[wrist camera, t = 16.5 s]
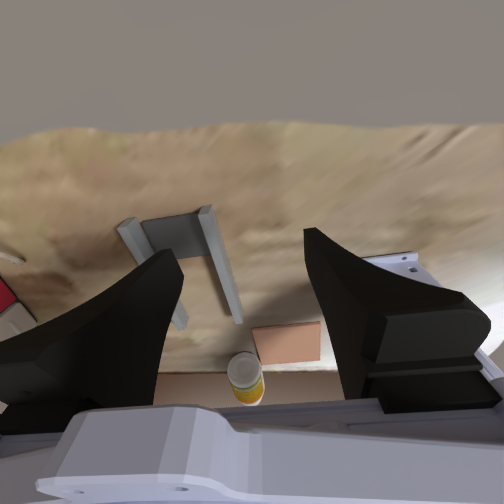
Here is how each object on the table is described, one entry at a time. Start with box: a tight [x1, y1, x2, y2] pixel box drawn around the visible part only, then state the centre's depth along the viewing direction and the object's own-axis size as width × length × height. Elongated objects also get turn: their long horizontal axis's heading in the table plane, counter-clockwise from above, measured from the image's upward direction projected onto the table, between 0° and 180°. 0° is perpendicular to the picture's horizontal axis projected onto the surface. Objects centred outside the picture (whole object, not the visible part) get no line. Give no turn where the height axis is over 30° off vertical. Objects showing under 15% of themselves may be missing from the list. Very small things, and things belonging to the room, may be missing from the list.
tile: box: [252, 322, 321, 365], centre depth 35 cm, size 10×10×1 cm
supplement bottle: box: [227, 352, 265, 406], centre depth 37 cm, size 5×5×10 cm
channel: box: [117, 205, 243, 330], centre depth 25 cm, size 9×16×2 cm, turn 10°
